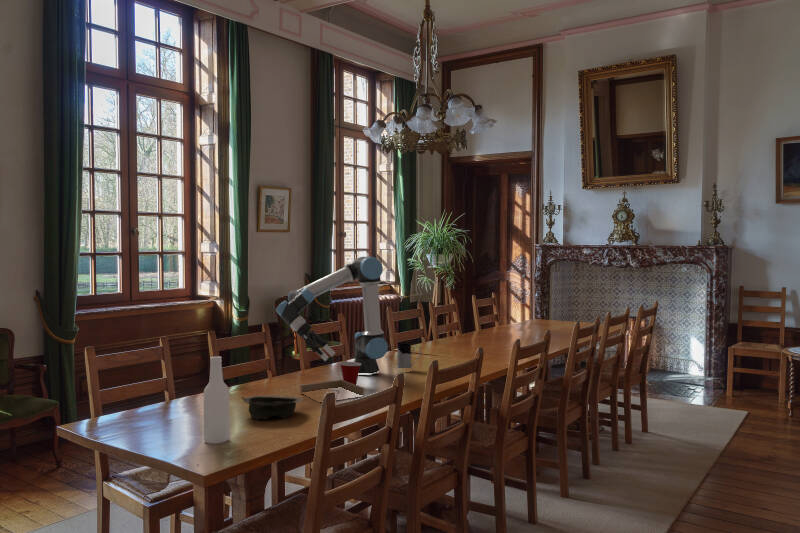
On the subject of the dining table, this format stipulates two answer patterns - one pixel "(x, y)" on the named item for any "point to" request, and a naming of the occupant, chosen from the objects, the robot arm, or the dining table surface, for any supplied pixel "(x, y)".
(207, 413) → the alcohol
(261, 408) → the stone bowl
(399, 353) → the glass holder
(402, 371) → the dining table surface
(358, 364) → the plastic cup
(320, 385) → the tray
